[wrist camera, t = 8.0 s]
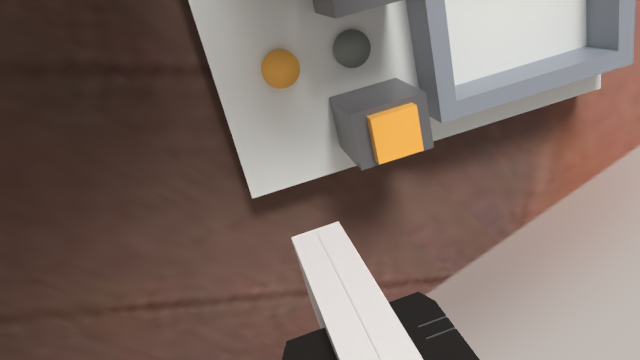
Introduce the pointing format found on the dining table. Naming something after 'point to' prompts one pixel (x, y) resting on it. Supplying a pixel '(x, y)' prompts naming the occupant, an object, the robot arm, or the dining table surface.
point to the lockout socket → (503, 87)
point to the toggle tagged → (382, 122)
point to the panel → (360, 70)
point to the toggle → (346, 6)
